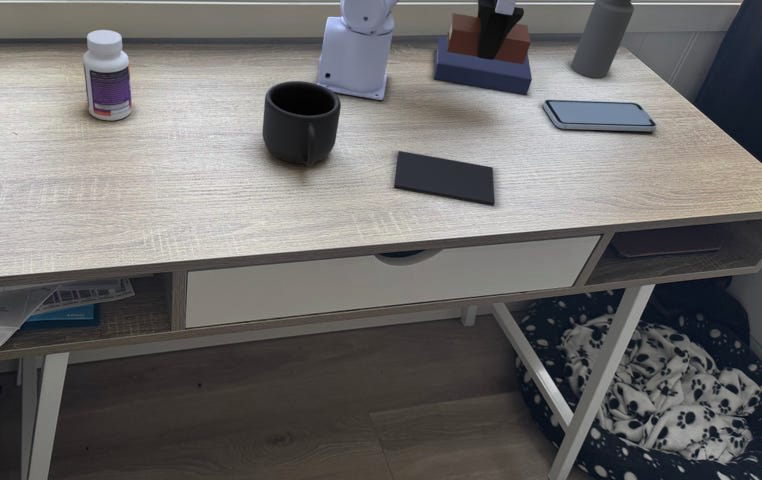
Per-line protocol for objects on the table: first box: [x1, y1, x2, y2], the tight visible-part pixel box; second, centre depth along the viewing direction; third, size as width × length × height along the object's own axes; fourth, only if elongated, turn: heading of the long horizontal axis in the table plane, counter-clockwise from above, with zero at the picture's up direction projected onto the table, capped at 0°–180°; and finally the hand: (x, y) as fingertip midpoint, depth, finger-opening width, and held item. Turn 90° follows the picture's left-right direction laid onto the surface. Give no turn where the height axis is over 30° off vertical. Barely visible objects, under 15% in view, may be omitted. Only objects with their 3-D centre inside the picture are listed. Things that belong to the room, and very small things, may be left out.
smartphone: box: [542, 99, 658, 132], centre depth 106 cm, size 7×1×15 cm
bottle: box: [570, 0, 635, 79], centre depth 113 cm, size 6×6×15 cm
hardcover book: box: [433, 35, 533, 96], centre depth 112 cm, size 14×10×2 cm
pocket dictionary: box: [446, 12, 532, 64], centre depth 96 cm, size 10×6×3 cm, turn 82°
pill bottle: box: [82, 29, 133, 121], centre depth 90 cm, size 5×5×10 cm
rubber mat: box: [394, 150, 496, 206], centre depth 90 cm, size 12×8×1 cm, turn 81°
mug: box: [262, 80, 342, 167], centre depth 88 cm, size 12×9×7 cm
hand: (484, 48), depth 97 cm, fingers closed on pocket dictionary, 5 cm apart
